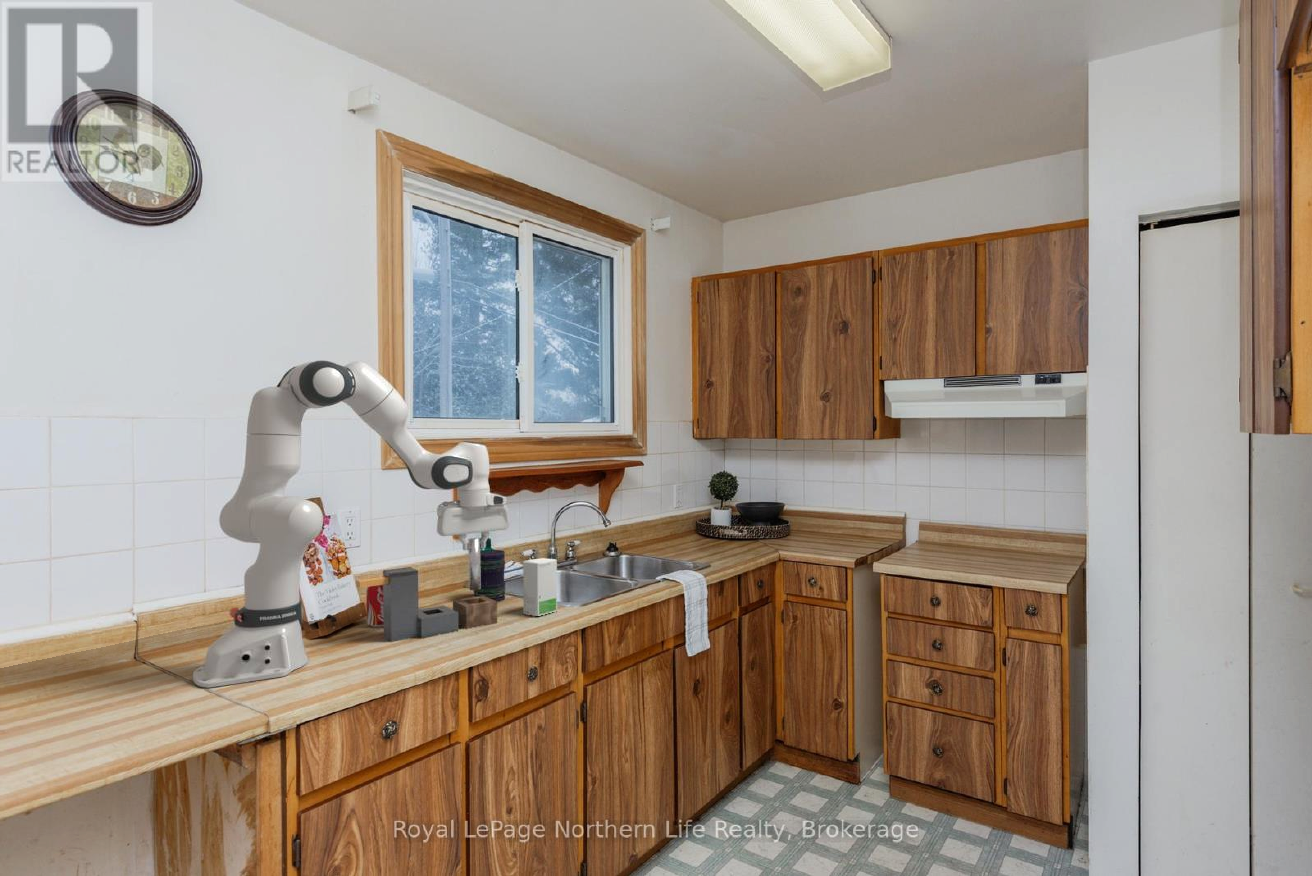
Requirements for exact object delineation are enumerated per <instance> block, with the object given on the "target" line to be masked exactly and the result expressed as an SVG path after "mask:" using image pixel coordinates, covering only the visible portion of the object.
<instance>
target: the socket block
mask: <svg viewBox="0 0 1312 876" xmlns="http://www.w3.org/2000/svg"><path fill="white" fill-rule="evenodd" d="M386 576H388V577H389V584H384V585H383V611H384V627H383V638H385V639H387V640H388V641H390V642H391V643H392V642H393V643H394V642H397V641H398V642H399V641H402V640H403V639H404V640H407V639H408V638H409V639H414V638H420V639H425V638H429V637H436V636H439V635H438V634H441V635H445V634H451V633H455V632H454V631H456V632H459V631H460V630H459V628H460V627H459V625H458V612H456V611H454V610H453V608H450V607H448V606H446V605H444V604H443V605H439V606H438V605H437V606H431V607H426V608H421V609H420V608H419V570H418V569H416V568H413V567H411V566H407V567H400V568H399V567H398V568H393V569H383V570H382V577H386ZM458 630H459V631H458ZM450 632H451V633H450ZM435 635H436V636H435Z"/></svg>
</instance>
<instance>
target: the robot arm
mask: <svg viewBox="0 0 1312 876" xmlns="http://www.w3.org/2000/svg"><path fill="white" fill-rule="evenodd" d="M252 396H253V397H252V399H251V403H250V406H249V411H248V418H247V422H246V423H247V425H246V441H245V459H244V468H243V473H242V476H241V479H240V483H239V484H238V487H237V489H236V491H235V493H234V495H233V496H232V498H231V499H229V501H227V503H225V505H224V506H222V509H221V511H220V514H219V518H218V519H219V526H220V529H221V531H223V533H224V534H225V535H226V536H228V537H229V538H232V539H234V540H237V541H241V542H243V543H250V544H259V550H258V555H257V557H256V559H255V562H254V564H252V565H250V566H249V567H248V568H247V569H246V570H245V572H244V577H243V578H244V579H243V580H244V581H243V583H244V584H243V585H244V592H243V593H244V606H243V607H241V608H240V609H239V608H238V607H232V608H230V610H229V616H230V617H231V618H233V620H234V621H233V622H234V626H232V627H231V628H230V629H228V631H226V632H225V633H223V635H221V636H220V637H218V638H217V639H216V640H215V641H214V642H212V643H211V644H210V646H209V647H208V649H207V652H206V655H205V658H204V659H205V660H204V665H203V666H200V667H198V668H196V669H195V670H194V671H193V673H192V682H193V683H194V684H195V685H197V686H199V687H201V688H206V689H207V688H215V687H223V686H228V685H234V684H241V683H248V682H254V681H261V680H268V679H273V678H274V679H275V678H280V677H285V676H287V675H289V674H290V673H292V672H293V671H295V670H297V669H299V668H301V667H303V666H305V665H307V663H308V662H309V658H308V656H307V652H306V647H305V644H304V640H303V634H302V633H303V632H302V625H303V619H304V618H303V614H304V613H303V603H302V601H301V600H300V585H301V584H300V582H301V581H300V580H301V579H300V578H301V576H300V575H301V573H300V572H301V566H302V562H303V559H304V555H305V554H306V551H307V549H308V546H309V545H310V544H311V543H312V542H313V541H314V540H315V539H316V538H317V537H318V536H319V535H320V533H321V531H322V529H323V525H324V514H323V511H322V509H321V508H320V506H319V505H318V504H317V503H315V502H313V501H311V500H308V499H305V498H301V497H298V496H287V495H286V496H285V495H284V493H285V490H286V487H287V485H288V483H289V481H290V479H291V478H292V477H294V476H295V475H296V474H297V473H298V472H299V470H300V467H301V455H302V454H301V451H302V450H301V449H302V422H303V417H304V416H305V415H304V414H305V413H306V412H307V410H309V409H322V408H325V407H330V406H334V405H336V404H339V403H341V402H343V403H344V404H345V405H347V406H349V407H350V408H351V409H352V410H353V412H355V414H356V415H357V416H358V417H359V418H360V419H361V420H362V421H363V422H364V423H365V424H366V425H367V426H368V427H370V428H371V429H372V430H373V431H374V432H376V433H377V435H378V436H380V437H381V438H382V439H383V441H385V443H386V444H387V445H388V447H390V449H392V451H393V452H394V453H395V454H396V455H397V457H399V459H401V462H403V463H404V465H405V467H406V469H407V471H408V474H409V477H410V480H411V481H412V482H413V483H414V484H415V485H416V486H417V487H419V488H420V489H423V490H439V491H440V490H442V491H445V490H446V491H448V490H453V489H456V498H457V499H456V500H451V501H443V502H441V503H440V504H439V505H438V506H437V511H436V513H437V517H438V518H437V525H436V533H437V534H438V535H439V536H442V537H449V536H458V539H459V541H460V542H461V544H462V550H463V551H468V550H470V543H468V542H467V540H466V539H467V535H470V534H477V533H481V535H482V538H480V549H485V548H487V547H486V546H487V544H486V543H487V540H488V538H489V537H490V532H495V531H505V530H507V529H508V528H509V527H510V514H509V508H508V507H507V505H506V504H507V497H505V496H503V495H500V494H496V493H494V492H491V489H490V484H489V477H490V457H489V452H488V447H487V446H486V445H485V444H483V443H481V442H476V441H468V440H463V441H460V442H459V443H458V444H456V445H455V446H454V447H453V448H450V449H448V450H447V451H445V452H443V453H441V454H440V453H433V452H431V451H428V450H426V449H425V448H424V447H423V446H422V445H421V444H420V443H419V442H418V440H417V439H416V438H415V437H414V436H413V435H412V433H411V432H410V431H409V430H408V428H407V426H406V421H407V419H408V416H409V408H408V407H409V406H408V404H407V403H406V402H405V400H404V398H403V397H402V395H401V394H400V392H399V391H397V389H396V388H395V387H394V386H393V385H392V384H391V383H390V382H389V381H388V380H387V379H386V378H385V377H383V375H381V374H380V373H379V372H378V371H376V370H375V369H374V368H373V367H372V366H371V365H368V363H366V362H363V361H352V362H349V363H348V364H345V365H341V364H338V363H335V362H332V361H329V360H315V361H307V362H303V363H300V364H298V365H296V366H293V367H291V368H290V369H288V371H286V372H285V374H283V376H282V377H281V379H280V380H279V382H278V383H277V385H276V386H270V387H269V386H267V387H264V388H262V389H259V390H258V391H256V392H255V393H254V395H252Z"/></svg>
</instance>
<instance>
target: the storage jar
mask: <svg viewBox="0 0 1312 876" xmlns="http://www.w3.org/2000/svg"><path fill="white" fill-rule="evenodd" d="M505 554H506V553H505V551H504V550H501V549H500V550H499V549H486V550H480V568H481V589H479V590H472V591H473V597H478V596H485V597H487V598H490V599H492V600H495V601H497V603H500V602H503V601H505V600H506V595H505V594H506V581H505V569H506V565H505V564H506V558H505Z"/></svg>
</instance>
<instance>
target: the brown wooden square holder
mask: <svg viewBox="0 0 1312 876" xmlns="http://www.w3.org/2000/svg"><path fill="white" fill-rule="evenodd" d="M452 610H454V611H456V612H458V626H460V625H461V626H460V627H462V626H463V627H462V628H463V629H466V630H468V628H469V629H473V628H472V627H474V628H477V626H479V627H482V626H481V625H484V626H488V625H493V623H494V624H498V602H497V601H495V600H492V599H490V598H487V597H485V596H478V597H474V596H472V597H466V598H461V599H455V600H452Z"/></svg>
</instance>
